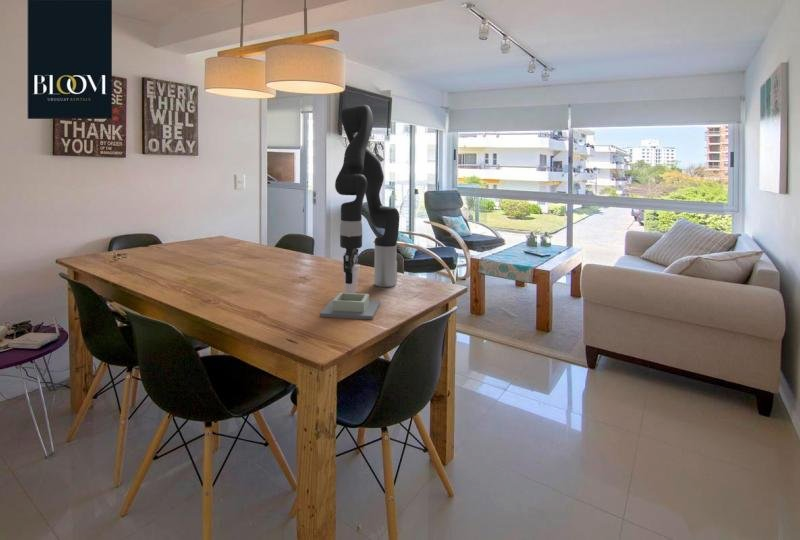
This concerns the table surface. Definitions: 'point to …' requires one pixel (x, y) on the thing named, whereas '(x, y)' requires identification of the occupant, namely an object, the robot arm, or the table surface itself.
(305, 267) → the table surface
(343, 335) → the table surface
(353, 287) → the smoothie
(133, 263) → the table surface
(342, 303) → the stand
